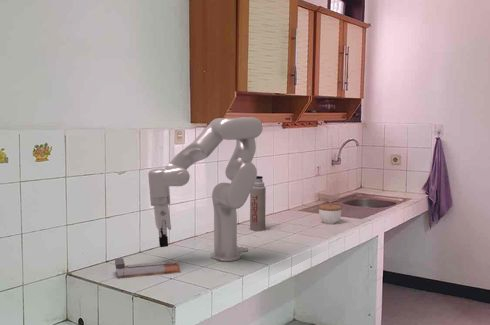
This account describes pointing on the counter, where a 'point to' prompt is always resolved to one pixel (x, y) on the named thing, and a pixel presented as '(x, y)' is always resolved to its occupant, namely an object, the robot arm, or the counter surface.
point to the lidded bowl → (330, 213)
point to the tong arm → (153, 264)
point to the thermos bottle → (257, 205)
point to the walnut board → (148, 274)
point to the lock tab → (119, 263)
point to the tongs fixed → (147, 270)
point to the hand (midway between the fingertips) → (163, 246)
